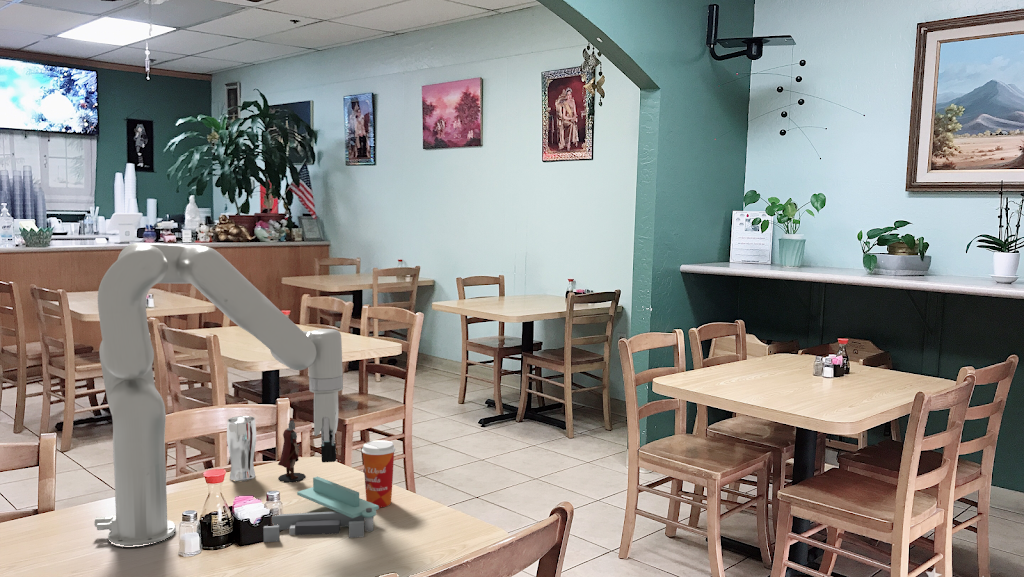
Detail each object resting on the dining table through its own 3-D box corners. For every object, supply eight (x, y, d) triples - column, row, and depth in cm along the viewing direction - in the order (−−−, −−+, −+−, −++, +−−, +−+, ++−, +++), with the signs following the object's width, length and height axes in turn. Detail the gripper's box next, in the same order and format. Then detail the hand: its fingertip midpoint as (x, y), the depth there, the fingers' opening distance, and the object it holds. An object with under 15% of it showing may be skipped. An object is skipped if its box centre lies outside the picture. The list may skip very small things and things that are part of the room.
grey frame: (263, 542, 159) (263, 526, 159) (268, 528, 166) (268, 513, 166) (373, 536, 163) (373, 521, 163) (373, 523, 170) (373, 508, 170)
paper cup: (355, 505, 180) (354, 445, 178) (375, 495, 187) (375, 437, 185) (382, 512, 176) (382, 451, 175) (402, 501, 183) (402, 442, 182)
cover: (297, 494, 177) (296, 478, 177) (323, 486, 182) (322, 471, 182) (360, 521, 162) (360, 504, 162) (386, 511, 168) (386, 495, 167)
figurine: (310, 478, 198) (309, 420, 196) (283, 485, 193) (282, 425, 191) (297, 471, 202) (296, 414, 201) (271, 478, 197) (270, 419, 196)
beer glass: (222, 478, 197) (220, 420, 195) (245, 471, 202) (244, 414, 201) (239, 484, 193) (238, 424, 191) (262, 476, 198) (261, 418, 197)
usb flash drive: (289, 535, 163) (289, 526, 163) (291, 530, 166) (291, 521, 165) (339, 534, 164) (339, 524, 164) (340, 529, 167) (340, 520, 166)
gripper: (312, 376, 186) (315, 451, 189) (306, 391, 172) (309, 473, 174) (344, 375, 188) (347, 450, 190) (341, 390, 173) (344, 470, 175)
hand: (329, 460), depth 182 cm, fingers closed
